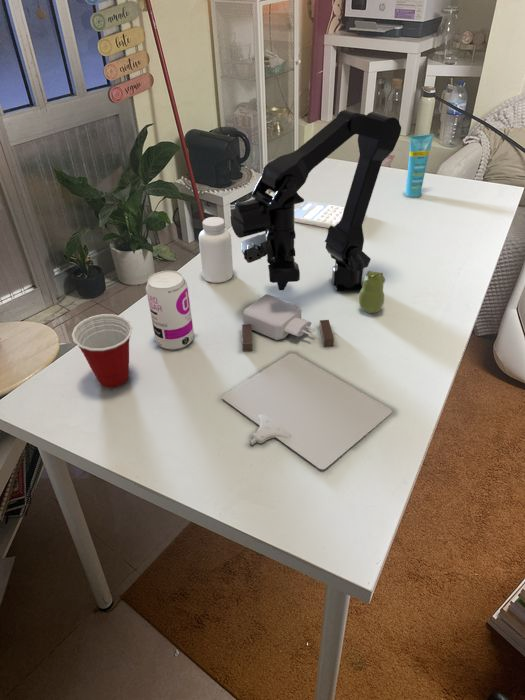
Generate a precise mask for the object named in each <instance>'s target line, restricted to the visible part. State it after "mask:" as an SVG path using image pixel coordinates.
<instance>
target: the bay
mask: <svg viewBox="0 0 525 700" xmlns="http://www.w3.org/2000/svg"><path fill="white" fill-rule="evenodd" d="M318 323H319V324H318V325H319V332H320V336H321V340H322V345H323V347H324V348H327V347H329V348H330V347H334V345H335V344H334V343H335V338H334V334H333V330H332V327H331V322H330V320H329V319H321V320H319V322H318ZM252 336H253V335H252V329H251V324H246V325H244V324H241V342H242V343H241V344H242V352H253V337H252Z"/></svg>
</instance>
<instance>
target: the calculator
mask: <svg viewBox="0 0 525 700" xmlns="http://www.w3.org/2000/svg"><path fill="white" fill-rule="evenodd" d="M344 208H345V206H344V207H343V206H338V205H333V204H327V203H322V202H321V203H320V202H316V201H315V202H314V201H304V202H302V204H301V205H300V206H299V207H297V208H296V209H294V223H301V224H304V225H310V226H316V227H321V228H326V229H329V227H330V226H335V225H336V224H337V223H338V222H339V221H340V220H341V218H342V215H343V212H344Z"/></svg>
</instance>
